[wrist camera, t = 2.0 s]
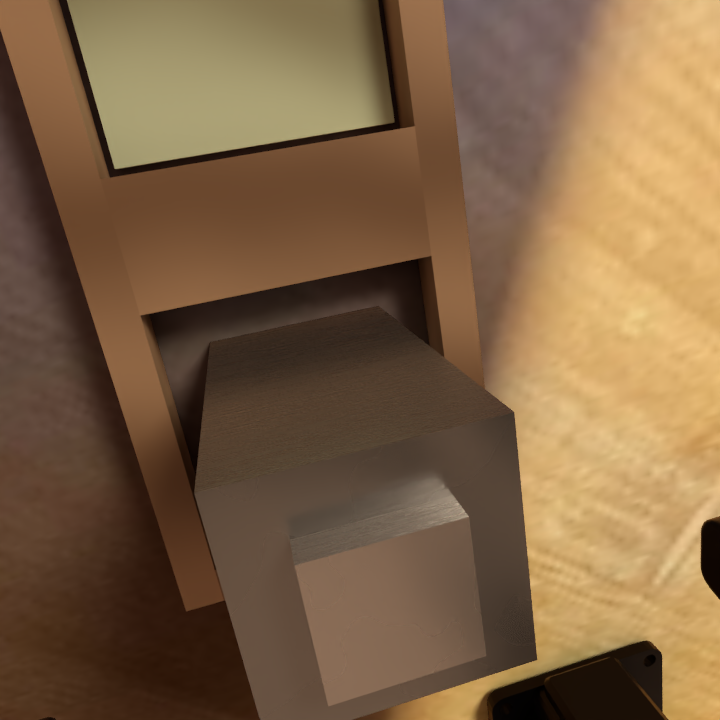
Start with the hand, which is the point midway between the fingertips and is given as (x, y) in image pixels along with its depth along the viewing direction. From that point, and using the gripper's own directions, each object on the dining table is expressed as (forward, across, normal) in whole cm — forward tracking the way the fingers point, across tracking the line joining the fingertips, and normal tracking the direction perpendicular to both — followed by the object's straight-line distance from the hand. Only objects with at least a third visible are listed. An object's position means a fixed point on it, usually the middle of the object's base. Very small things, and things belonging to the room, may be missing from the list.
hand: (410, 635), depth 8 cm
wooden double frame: (+9, 0, -5) cm, 10 cm away
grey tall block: (+9, 0, 0) cm, 9 cm away
